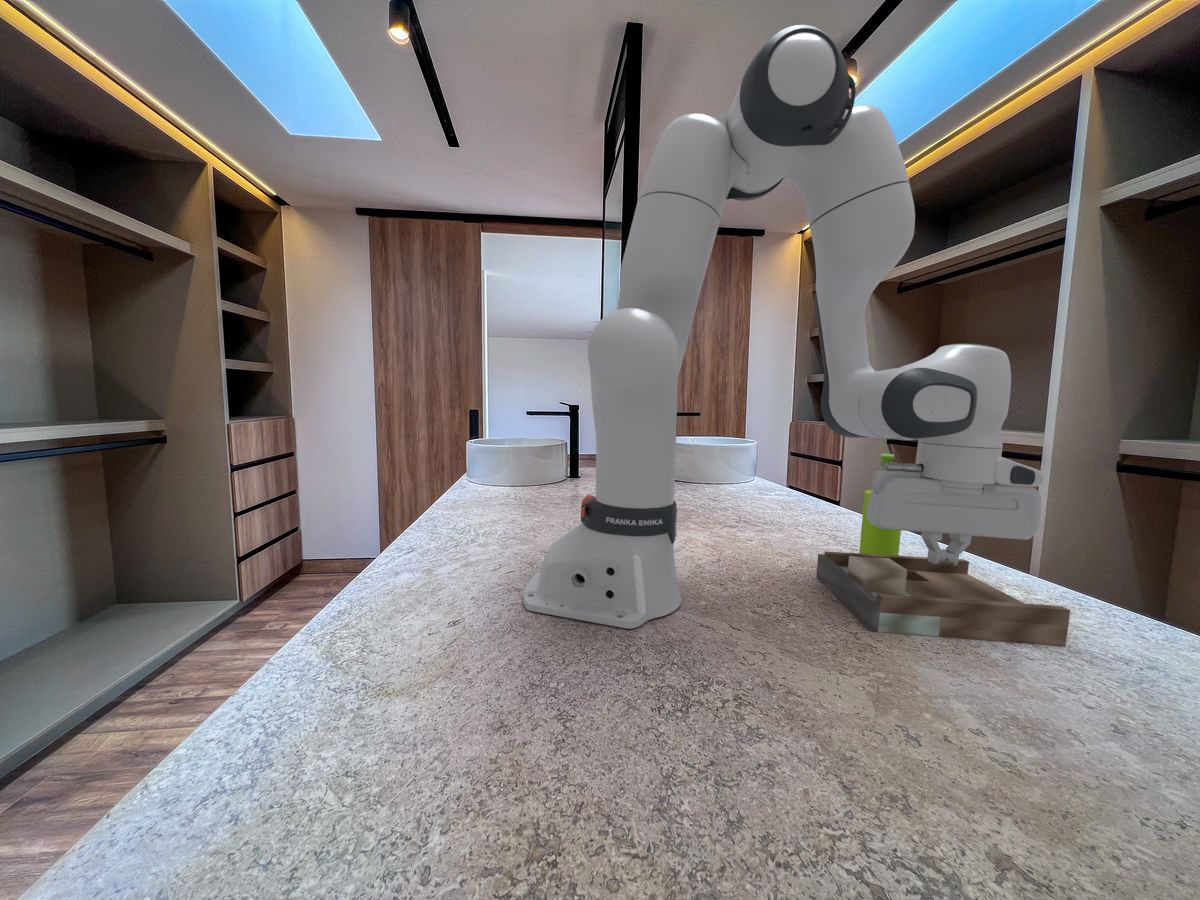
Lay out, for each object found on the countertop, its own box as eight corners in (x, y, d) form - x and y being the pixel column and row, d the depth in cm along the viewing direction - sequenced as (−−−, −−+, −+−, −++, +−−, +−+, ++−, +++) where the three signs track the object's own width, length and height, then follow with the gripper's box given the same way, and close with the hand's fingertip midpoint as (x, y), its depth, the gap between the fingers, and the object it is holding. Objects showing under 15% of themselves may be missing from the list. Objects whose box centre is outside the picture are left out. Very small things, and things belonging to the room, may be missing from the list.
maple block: (862, 591, 59) (864, 567, 58) (847, 578, 63) (849, 556, 63) (904, 594, 58) (907, 569, 58) (886, 581, 62) (888, 558, 62)
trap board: (869, 631, 53) (872, 596, 52) (816, 577, 70) (818, 551, 69) (1065, 645, 50) (1070, 610, 50) (961, 586, 67) (964, 559, 67)
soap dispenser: (896, 561, 78) (906, 454, 76) (898, 572, 73) (909, 457, 71) (859, 554, 82) (867, 451, 80) (858, 565, 76) (867, 454, 74)
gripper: (887, 464, 56) (875, 565, 57) (1058, 474, 54) (1041, 578, 55) (863, 458, 62) (853, 549, 64) (1015, 467, 60) (1001, 561, 62)
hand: (941, 563), depth 59 cm, fingers closed
